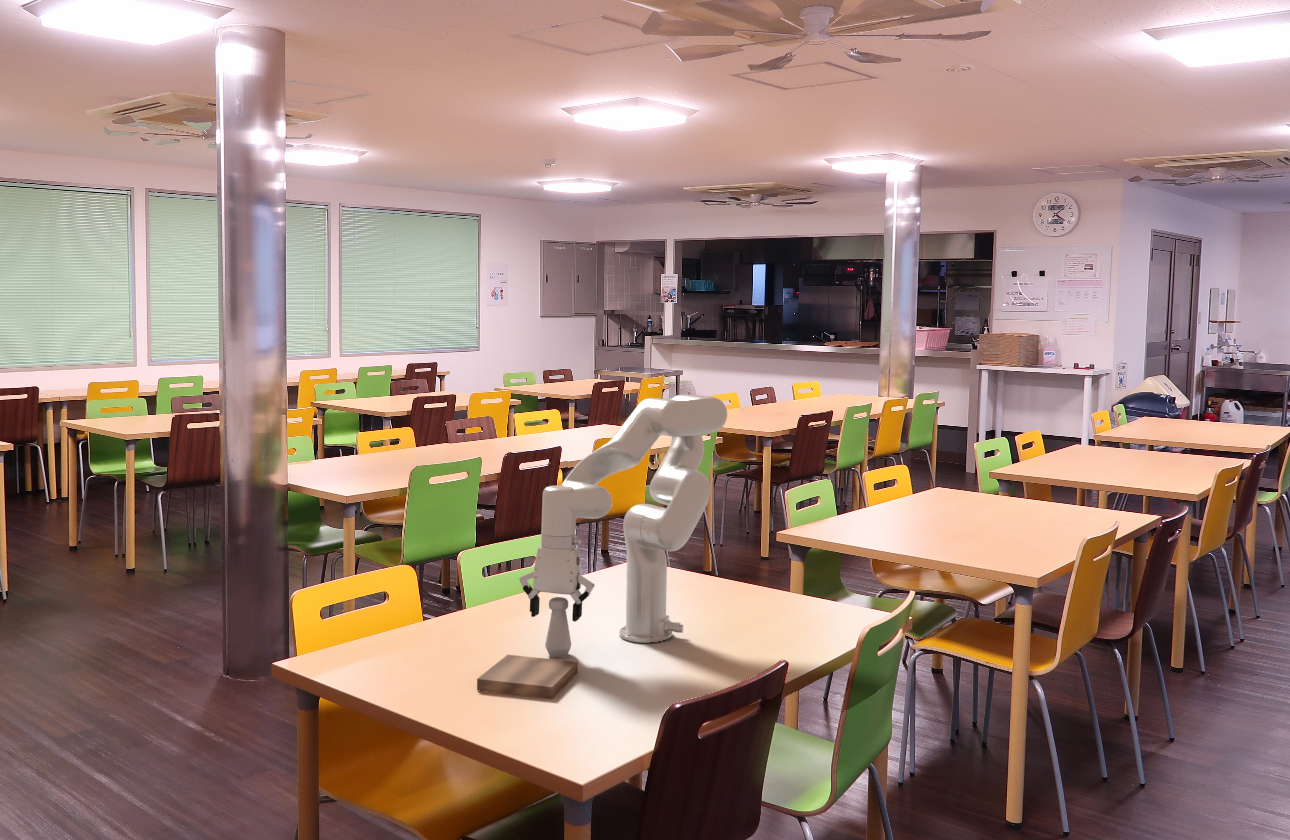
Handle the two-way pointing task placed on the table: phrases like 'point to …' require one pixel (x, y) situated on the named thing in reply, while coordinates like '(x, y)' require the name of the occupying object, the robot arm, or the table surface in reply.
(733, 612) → the table surface
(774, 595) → the table surface
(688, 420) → the robot arm
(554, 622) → the salt shaker
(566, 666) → the walnut base
